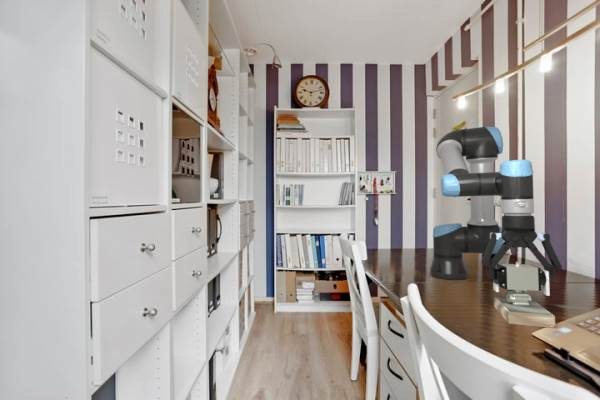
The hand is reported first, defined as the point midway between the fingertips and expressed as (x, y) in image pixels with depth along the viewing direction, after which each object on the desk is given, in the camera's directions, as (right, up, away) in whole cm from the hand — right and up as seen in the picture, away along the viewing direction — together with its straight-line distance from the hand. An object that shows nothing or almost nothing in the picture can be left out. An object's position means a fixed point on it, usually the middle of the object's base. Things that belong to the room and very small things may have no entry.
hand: (520, 292), depth 83 cm
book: (0, -7, 0) cm, 7 cm away
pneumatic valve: (0, -4, 0) cm, 4 cm away
